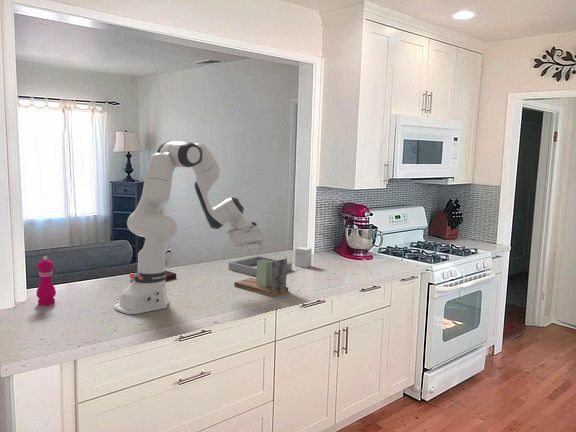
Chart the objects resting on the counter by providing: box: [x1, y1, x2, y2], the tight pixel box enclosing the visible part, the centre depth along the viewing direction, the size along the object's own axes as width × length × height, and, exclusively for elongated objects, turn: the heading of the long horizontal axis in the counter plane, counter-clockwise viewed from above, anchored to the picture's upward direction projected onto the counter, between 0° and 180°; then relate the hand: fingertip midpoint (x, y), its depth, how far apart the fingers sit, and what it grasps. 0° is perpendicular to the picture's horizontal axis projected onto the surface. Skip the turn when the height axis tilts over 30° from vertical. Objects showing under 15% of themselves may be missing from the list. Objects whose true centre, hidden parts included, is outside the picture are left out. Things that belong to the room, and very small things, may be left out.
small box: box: [294, 246, 312, 269], centre depth 290 cm, size 8×6×10 cm
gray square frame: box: [228, 255, 293, 277], centre depth 277 cm, size 25×25×4 cm
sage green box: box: [255, 259, 273, 288], centre depth 238 cm, size 4×6×12 cm
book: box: [129, 270, 177, 283], centre depth 249 cm, size 12×19×3 cm, turn 146°
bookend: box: [233, 258, 289, 297], centre depth 239 cm, size 12×24×16 cm, turn 52°
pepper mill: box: [36, 255, 57, 306], centre depth 205 cm, size 7×7×20 cm
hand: (256, 250), depth 240 cm, fingers open, 8 cm apart
